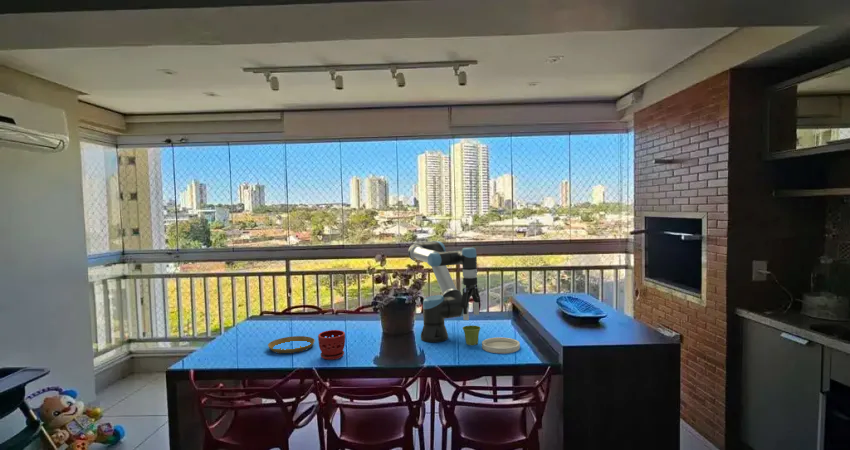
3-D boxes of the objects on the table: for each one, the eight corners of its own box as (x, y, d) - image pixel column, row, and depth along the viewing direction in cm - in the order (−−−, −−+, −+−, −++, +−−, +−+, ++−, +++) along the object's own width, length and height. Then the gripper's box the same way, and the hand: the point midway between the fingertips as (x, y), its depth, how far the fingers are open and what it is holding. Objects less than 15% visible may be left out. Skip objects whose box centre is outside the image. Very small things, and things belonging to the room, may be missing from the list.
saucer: (476, 350, 223) (476, 345, 223) (489, 340, 239) (489, 335, 239) (513, 355, 213) (512, 350, 213) (524, 344, 230) (524, 339, 230)
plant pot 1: (314, 357, 220) (313, 333, 220) (336, 351, 229) (335, 328, 229) (328, 363, 211) (327, 338, 210) (351, 356, 220) (350, 332, 220)
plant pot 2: (480, 346, 229) (479, 330, 228) (462, 346, 231) (461, 329, 230) (481, 341, 238) (481, 325, 238) (464, 341, 240) (463, 325, 239)
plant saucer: (324, 345, 242) (324, 339, 242) (290, 358, 221) (290, 351, 221) (293, 339, 254) (292, 334, 254) (258, 351, 234) (258, 345, 233)
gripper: (466, 280, 220) (468, 323, 221) (485, 274, 242) (486, 312, 243) (453, 280, 224) (454, 321, 224) (472, 273, 246) (474, 311, 246)
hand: (471, 317), depth 233 cm, fingers open, 13 cm apart
